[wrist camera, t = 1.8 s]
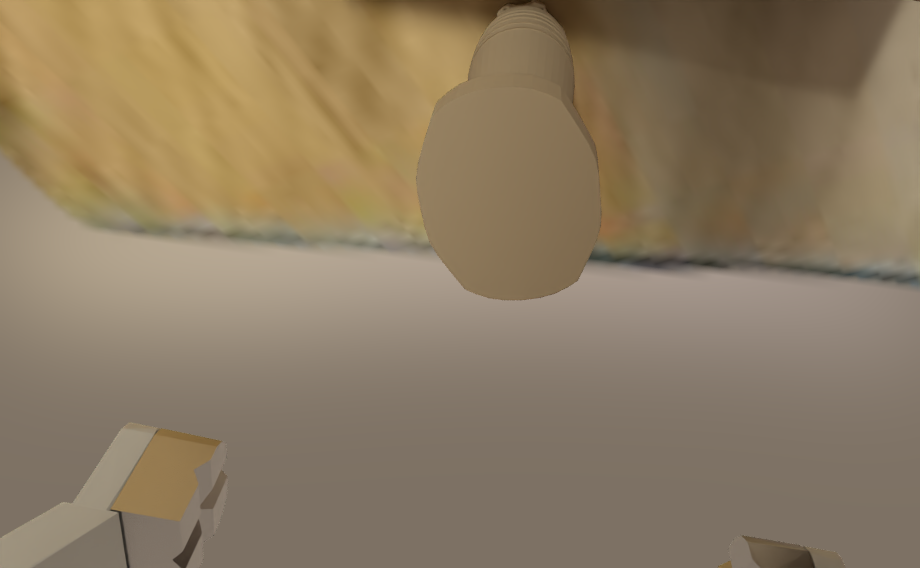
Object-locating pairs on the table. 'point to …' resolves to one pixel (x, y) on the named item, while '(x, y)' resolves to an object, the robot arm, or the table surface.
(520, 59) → the handle
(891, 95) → the table surface
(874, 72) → the table surface
